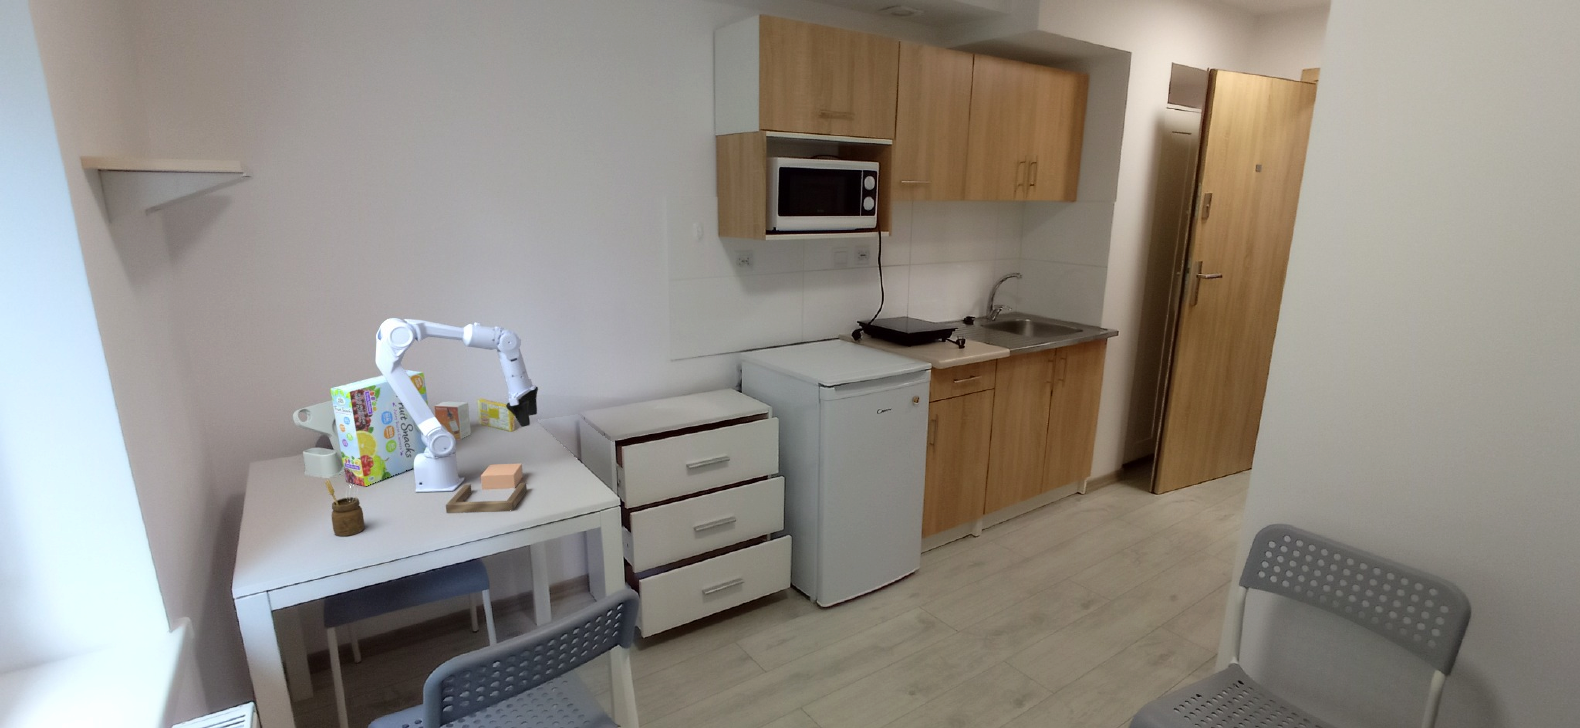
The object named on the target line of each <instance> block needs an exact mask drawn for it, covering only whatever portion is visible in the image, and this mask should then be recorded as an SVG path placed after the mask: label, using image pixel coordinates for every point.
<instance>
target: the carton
mask: <svg viewBox="0 0 1580 728" xmlns="http://www.w3.org/2000/svg"><path fill="white" fill-rule="evenodd" d="M523 474H524V473H523V463H521V462H520V463H498V464H496V463H495V464H490V465H488V467H487V468H486V469H485V470H484V471H483V473H482V474H481V475H480V482H481V490H482V491H484V490H486V491H487V490H488V491H489V490H507V489H510V488H514V489H516V488H517V487H518V485H519V484H520V483H521V480H522V479H521V478H523V477H524V476H523ZM517 484H518V485H517ZM515 487H516V488H515Z"/></svg>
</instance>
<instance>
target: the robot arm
mask: <svg viewBox="0 0 1580 728" xmlns="http://www.w3.org/2000/svg"><path fill="white" fill-rule="evenodd" d="M375 338H376V339H375V340H376V345H375V346H376V348H375V349H376V350H375V365H376V366H377V369H378V370H379V371H380V372H381V374H382V375H383V376H384V377H385V379H386V380H387V381H388V383H389V384H390V386H391V387H392V389H393V390H394V392H395V393H396V395H397V396H398V398H399V399H400V401H401V402H402V404H403V405H404V407H405V408H406V410H407V411H408V413H409V414H410V416H411V417H412V419H413V420H414V422H415V423H416V425H417V426H418V428H419V429H420V431H421V439H422V441H423V443H424V444H425V445H426V446H427V447H426V449H425V452H424V453H420V454H417V456H416V457H415V460H414V468H413V471H414V472H413V473H414V481H415V490H414V491H415V493H427V492H429V493H430V492H435V493H436V492H454V491H455V490H456V489H457V488H458V487H459V486H460V485H461V484H462V483H463V482H464V481H465V477H459V472H458V464H457V463H458V461H457V453H456V445H457V441H456V440H457V439H455V438H454V436H453V435H452V434H451V433H449V432H448V431H447V429H446V427H445V426H443V425H442V424H440V423H439V421H438V420H437V419H436V417H435V413H433V411H432V410H431V408H430V407H429V404H428V405H427V404H426V402H425V401H424V399H423V397H422V396H421V394H420V393H419V391H418V390H417V388H416V387H415V385H414V384H413V382H412V381H411V379H410V378H409V376H408V375H407V373H406V372H405V370H406V369H404V367H403V366H402V361H403V359H404V356H405V354H406V352H407V351H408V350H409V349H410V348H411V347H412V346H413V344H414V342H415V340H416V341H417V342H418V343H419V342H422V341H423V340H425V339H427V338H439V339H444V340H445V339H447V340H454V341H455V340H456V341H462V343H463V344H464V346H465V347H469V348H477V349H483V350H492V351H493V350H497V351H496V353H497V355H498V358H499V360H498V361H499V364H500V366H501V371H502V374H503V376H504V380H505V383H506V387H507V391H508V392H507V393H508V397H509V398H508V402H507V403H506V404H507V405H506V407H507V409H508V410H510V411H511V412H512V413H513V415H514V418H516V420H517V422H518V424H519V425H520V427H522V428H523V427H527V426H531V425H530V424H531V421H530V416H535V415H537V414H538V406H537V403H538V402H537V399H538V398H537V395H538V391H539V387H538V386H536V384H533V382H532V379H531V378H530V377H529V374H528V371H527V367H526V363H525V360H524V357H523V354H522V352H521V349H520V347H521V345H522V339H521V338H520V337H519V336H518V334H517V333H515V332H514V331H512V330H510V329H507V328H505V327H500V326H497V325H495V326H494V327H492V326H485V325H482V323H481V322H477V321H475V322H474V324H473V323H469V324H467V325H465V326H464V327H461V326H460V327H459V326H453V325H450V324H449V325H448V324H443V323H438V322H435V321H434V322H432V321H428V320H423V319H413V318H412V319H411V318H404V319H401V318H395V317H392V318H391V317H390V318H388V319H386V320H385V321H383V322H382V323H381V324H380V327H379V328H378V331H377V332H376V335H375Z"/></svg>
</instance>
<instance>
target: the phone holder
mask: <svg viewBox="0 0 1580 728" xmlns="http://www.w3.org/2000/svg"><path fill="white" fill-rule="evenodd" d="M300 413H304V414H305V415H306V420H305V421H302V420H301V419H300V418H299V414H300ZM292 419H293V422H294V424H295V426H296V427H298V428H302V429H305V430H308V431H311V432H314V433H318V434H321V435H325V436H327V438H329V442H330V444H331V446H332V448H333V449H330V448H323V447H311V448H307V449H305V450H303V451H302V457H303V463H304V469H305V470H304V472H303V474H304V475H305V476H309V475H310V477H315V478H320V477H322V479H325V478H329V479H331V478H330V477H333V478H336V477H337V476H336V475H338V474H340V473H344V466H343V461H342V455H341V449H340V443H339V437H338V431H337V425H336V419H335V414H334V408H333V402H332V399H331V400H328V401H324V402H319V403H315V404H312V405H309V406H305V407H303V408H299V409H297V410H295V411H294V413H292ZM344 474H345V473H344ZM335 476H336V477H335Z"/></svg>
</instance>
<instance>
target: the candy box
mask: <svg viewBox="0 0 1580 728" xmlns="http://www.w3.org/2000/svg"><path fill="white" fill-rule="evenodd" d="M476 401H477V415H478V424H479V425H483V426H487V427H490V426H491V428H493V429H494V428H495V429H498V430H503V431H507V432H510V433H511V432H513V431H515V416H514V415H513V413H512V412H511V411H510V410H508V409H507V407H506V405H507V403H502V402H497V401H493V400H488V399H484V398H479V399H477V400H476Z"/></svg>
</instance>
